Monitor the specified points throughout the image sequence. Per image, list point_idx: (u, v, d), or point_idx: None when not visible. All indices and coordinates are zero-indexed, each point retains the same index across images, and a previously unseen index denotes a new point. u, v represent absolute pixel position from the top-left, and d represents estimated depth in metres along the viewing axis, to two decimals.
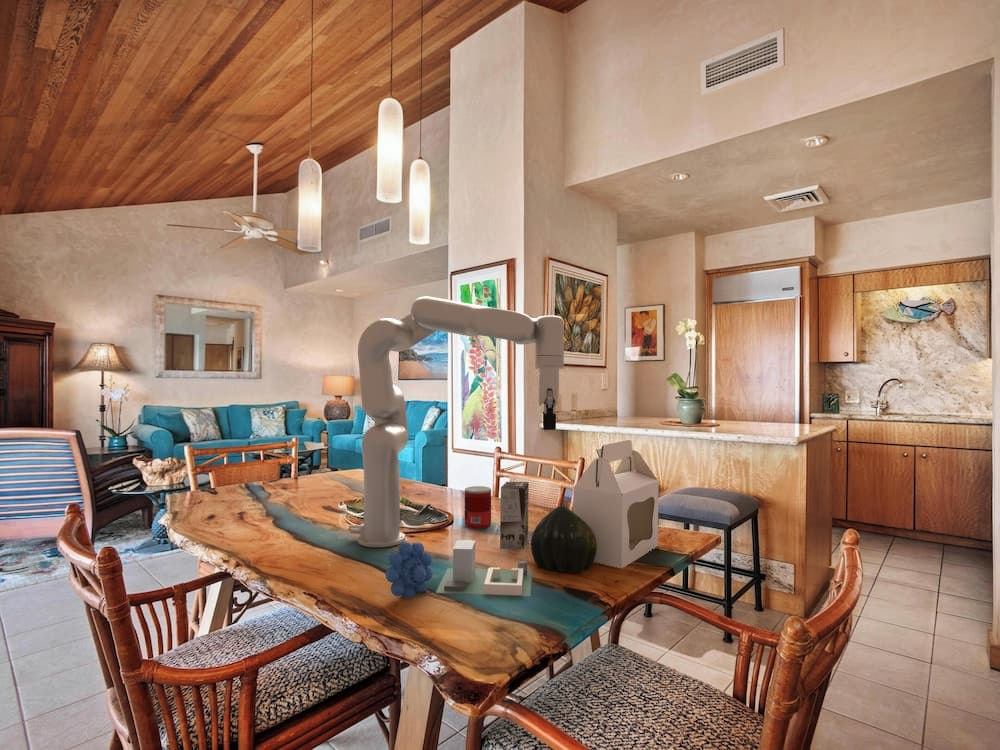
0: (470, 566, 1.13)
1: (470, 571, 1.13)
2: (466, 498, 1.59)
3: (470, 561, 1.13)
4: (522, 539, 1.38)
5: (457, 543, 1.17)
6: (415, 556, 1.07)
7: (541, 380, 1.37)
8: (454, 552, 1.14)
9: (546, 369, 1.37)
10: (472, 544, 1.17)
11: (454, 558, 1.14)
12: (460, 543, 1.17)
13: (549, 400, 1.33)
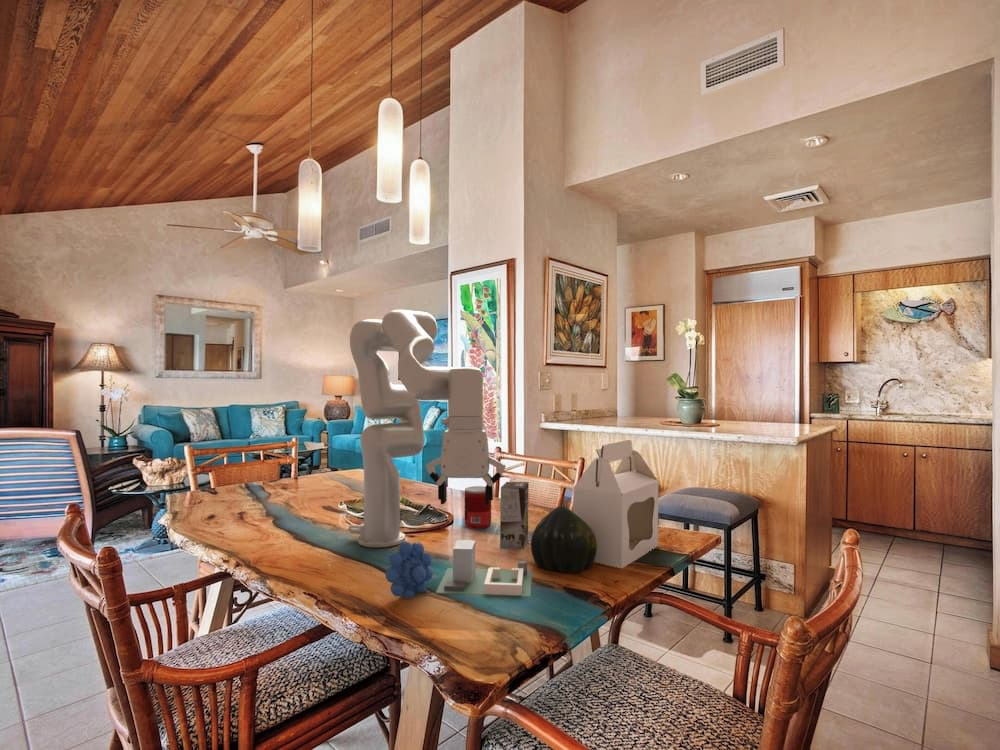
0: (470, 566, 1.13)
1: (470, 571, 1.13)
2: (466, 498, 1.59)
3: (470, 561, 1.13)
4: (522, 539, 1.38)
5: (457, 543, 1.17)
6: (415, 556, 1.07)
7: (485, 446, 1.14)
8: (454, 552, 1.14)
9: None
10: (472, 544, 1.17)
11: (454, 558, 1.14)
12: (460, 543, 1.17)
13: (504, 468, 1.16)
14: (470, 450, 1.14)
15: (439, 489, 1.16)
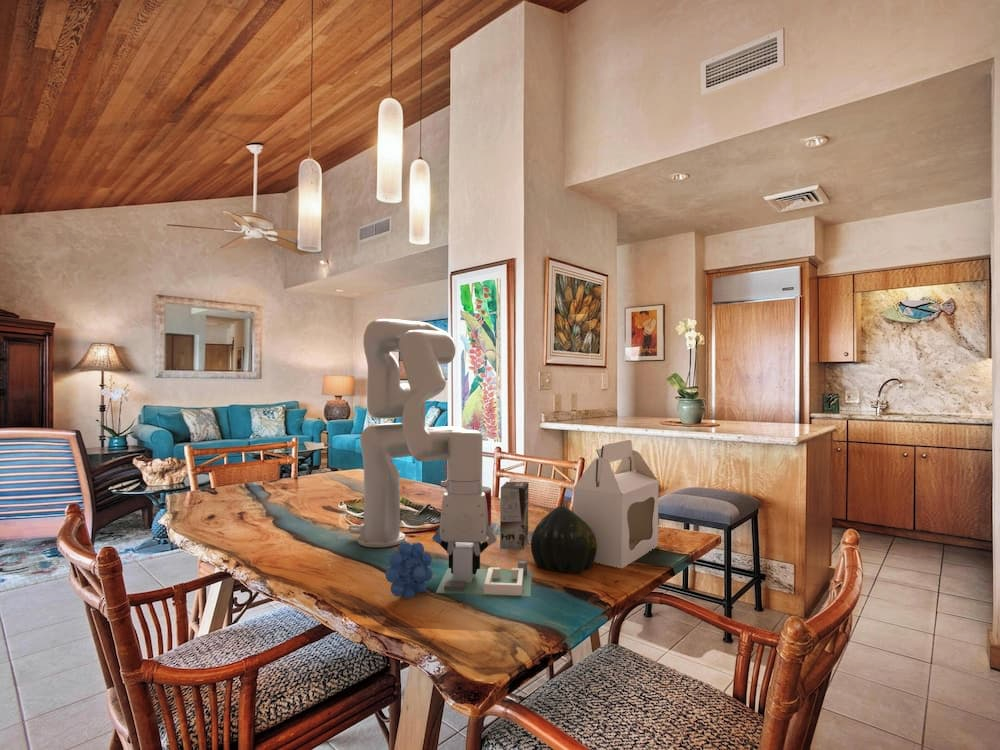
0: (470, 566, 1.13)
1: (470, 571, 1.13)
2: None
3: (470, 561, 1.13)
4: (522, 539, 1.38)
5: (457, 543, 1.17)
6: (415, 556, 1.07)
7: (485, 511, 1.14)
8: (454, 552, 1.14)
9: (485, 497, 1.15)
10: (472, 544, 1.17)
11: (454, 558, 1.14)
12: (460, 543, 1.17)
13: (494, 541, 1.16)
14: (469, 515, 1.14)
15: (449, 558, 1.16)
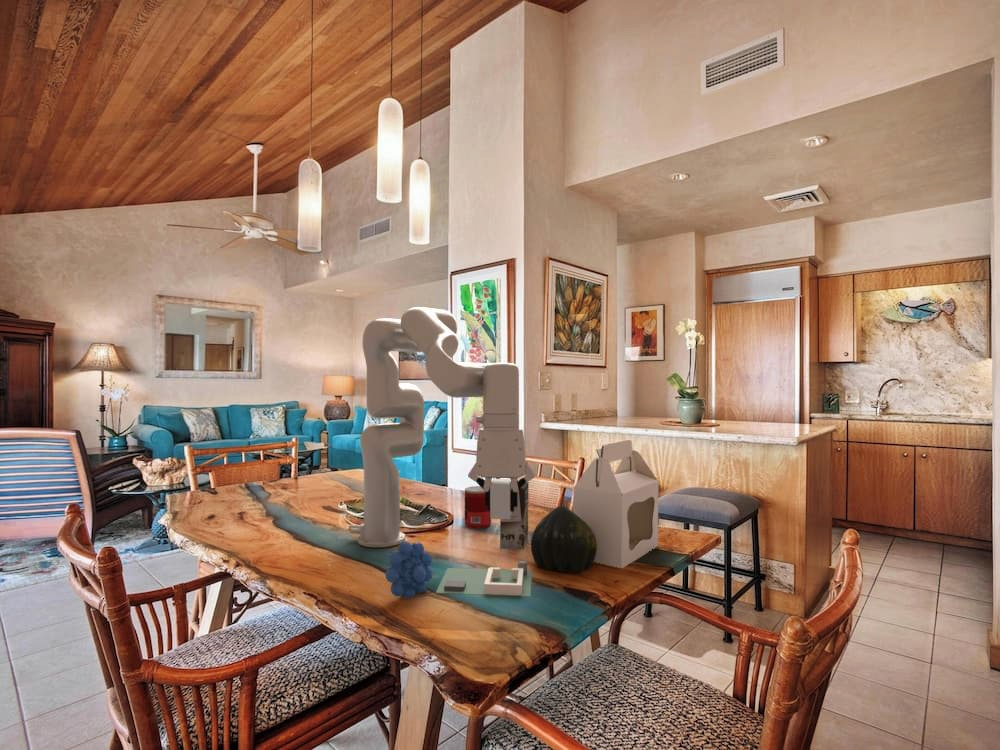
0: (508, 502, 1.09)
1: (508, 507, 1.09)
2: (466, 498, 1.59)
3: (508, 497, 1.09)
4: (522, 539, 1.38)
5: (493, 481, 1.13)
6: (415, 556, 1.07)
7: (523, 445, 1.10)
8: (491, 488, 1.09)
9: (522, 431, 1.11)
10: (509, 481, 1.12)
11: (491, 494, 1.09)
12: (496, 480, 1.13)
13: (532, 478, 1.11)
14: (507, 449, 1.09)
15: (486, 495, 1.12)
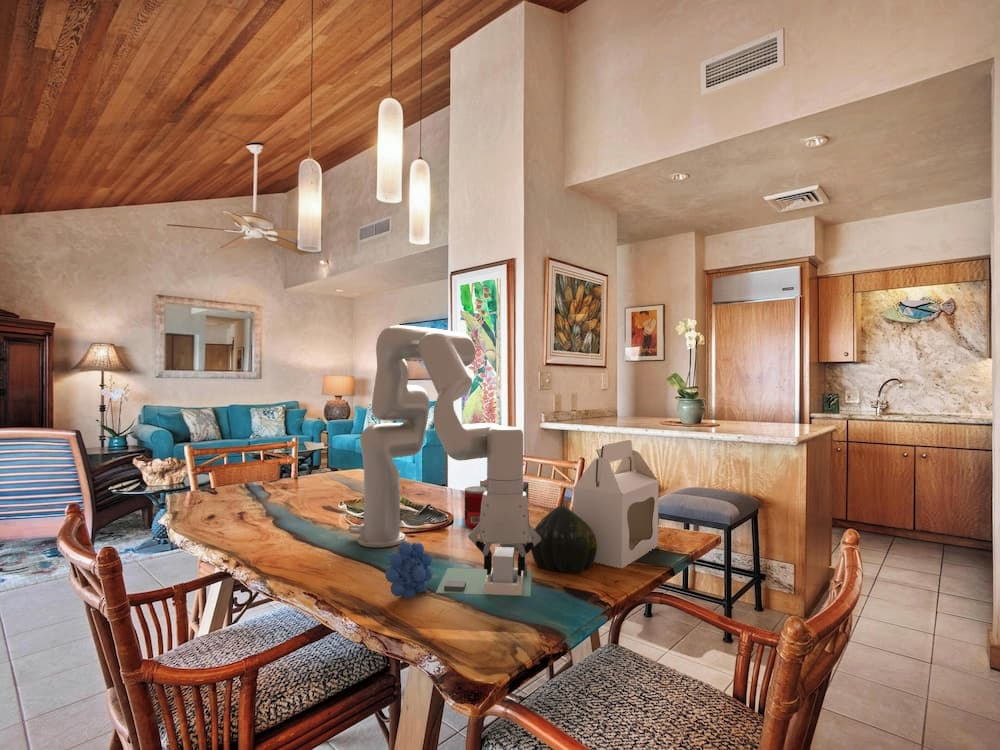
0: (511, 574, 1.09)
1: (511, 580, 1.09)
2: (466, 498, 1.59)
3: (511, 569, 1.09)
4: None
5: (496, 550, 1.12)
6: (415, 556, 1.07)
7: (527, 511, 1.09)
8: (494, 560, 1.09)
9: (526, 496, 1.11)
10: (512, 551, 1.12)
11: (494, 566, 1.09)
12: (499, 550, 1.13)
13: (539, 540, 1.11)
14: (511, 515, 1.09)
15: (485, 559, 1.11)
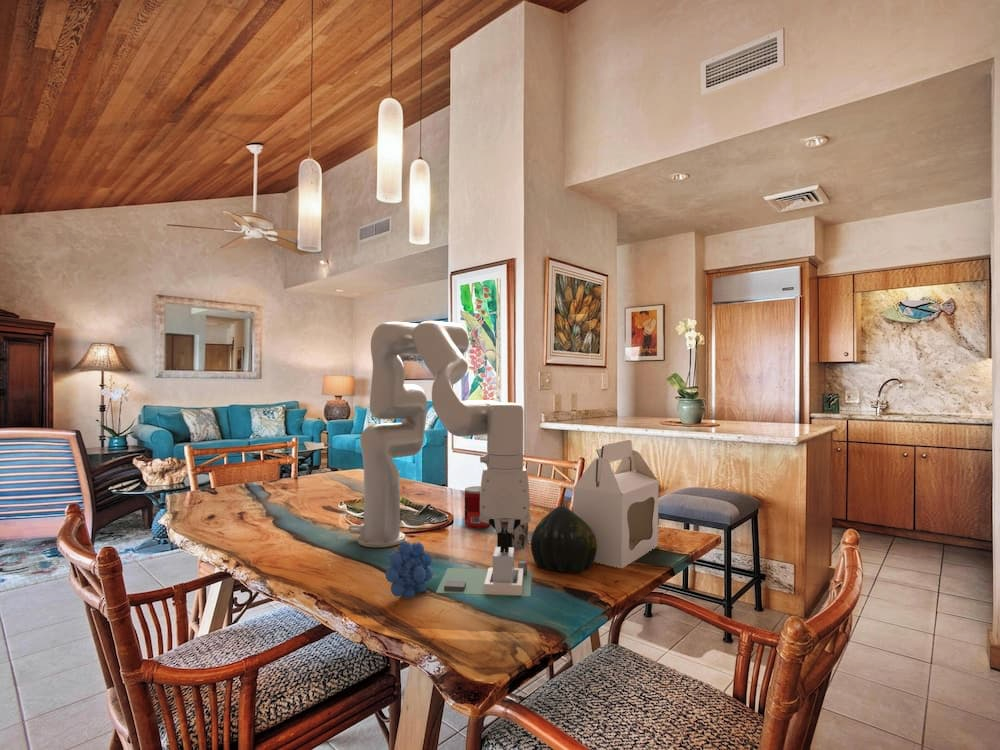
0: (511, 574, 1.09)
1: (511, 580, 1.09)
2: (466, 498, 1.59)
3: (511, 569, 1.09)
4: (522, 539, 1.38)
5: (496, 550, 1.12)
6: (415, 556, 1.07)
7: (527, 486, 1.09)
8: (494, 560, 1.09)
9: (526, 472, 1.11)
10: (512, 551, 1.12)
11: (494, 566, 1.09)
12: (499, 550, 1.13)
13: None
14: (511, 490, 1.09)
15: (498, 536, 1.11)
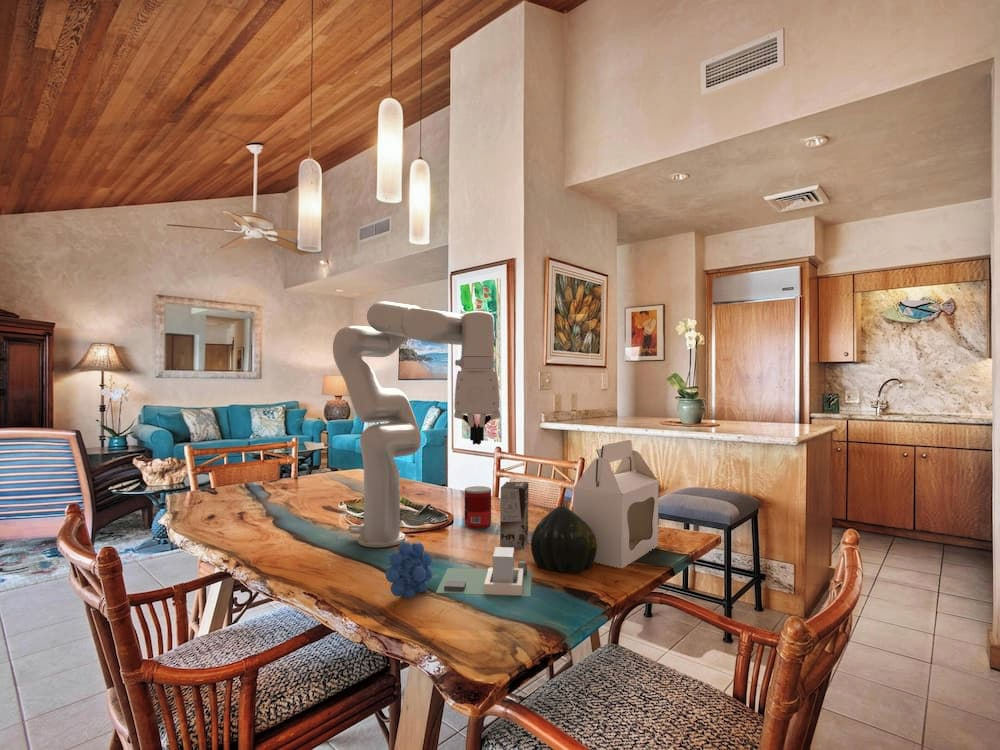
0: (511, 574, 1.09)
1: (511, 580, 1.09)
2: (466, 498, 1.59)
3: (511, 569, 1.09)
4: (522, 539, 1.38)
5: (496, 550, 1.12)
6: (415, 556, 1.07)
7: (496, 385, 1.23)
8: (494, 560, 1.09)
9: (496, 373, 1.24)
10: (512, 551, 1.12)
11: (494, 566, 1.09)
12: (499, 550, 1.13)
13: (497, 418, 1.25)
14: (482, 388, 1.22)
15: (471, 430, 1.25)
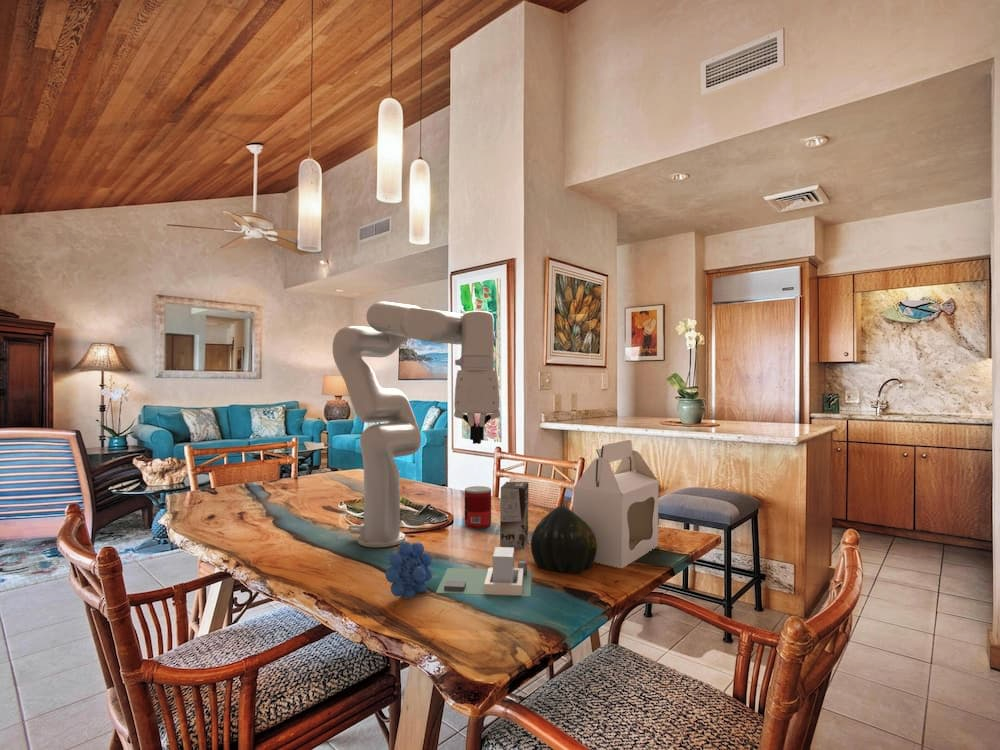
0: (511, 574, 1.09)
1: (511, 580, 1.09)
2: (466, 498, 1.59)
3: (511, 569, 1.09)
4: (522, 539, 1.38)
5: (496, 550, 1.12)
6: (415, 556, 1.07)
7: (496, 384, 1.23)
8: (494, 560, 1.09)
9: (496, 372, 1.24)
10: (512, 551, 1.12)
11: (494, 566, 1.09)
12: (499, 550, 1.13)
13: (497, 417, 1.25)
14: (482, 387, 1.23)
15: (471, 430, 1.25)
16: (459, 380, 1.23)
